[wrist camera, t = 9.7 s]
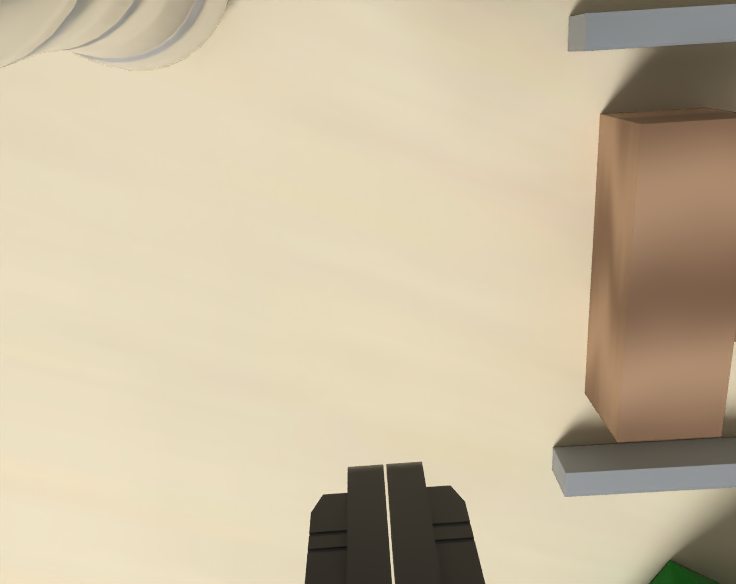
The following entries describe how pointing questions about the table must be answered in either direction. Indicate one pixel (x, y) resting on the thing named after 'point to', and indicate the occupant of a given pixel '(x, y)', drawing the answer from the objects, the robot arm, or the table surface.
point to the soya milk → (680, 576)
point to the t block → (663, 273)
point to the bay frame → (662, 458)
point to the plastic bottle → (108, 30)
